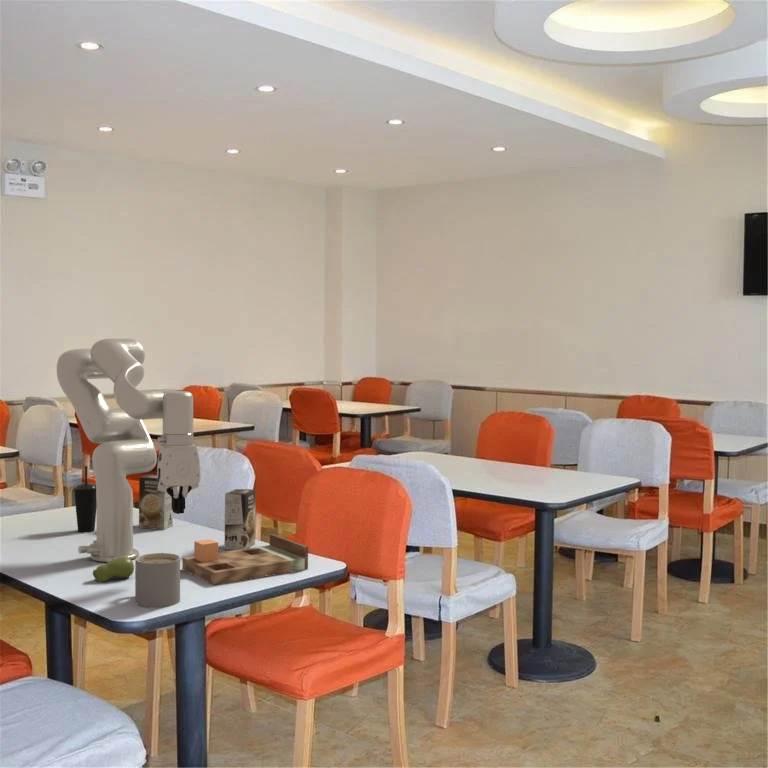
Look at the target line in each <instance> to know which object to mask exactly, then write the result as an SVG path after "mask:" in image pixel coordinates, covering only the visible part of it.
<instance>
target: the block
mask: <svg viewBox="0 0 768 768" xmlns="http://www.w3.org/2000/svg"><path fill="white" fill-rule="evenodd" d="M193 544H194V545H193V546H194V548H193V549H194V551H193V552H194V553H193V556H194V559H197V560H199V561H201V562H206V561H213V560H218V553H219V542H218V541H216V540H213V539H210V538H209V539H202V540H201V539H200V540H196V541H194V542H193Z"/></svg>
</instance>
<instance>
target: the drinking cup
mask: <svg viewBox="0 0 768 768" xmlns="http://www.w3.org/2000/svg"><path fill="white" fill-rule="evenodd" d="M72 490H73V493H74V494H73V495H74V503H75V504H74V505H75V512H76V513H75V514H76V515H75V516H76V524H77V526H76V527H77V532H78V533H83V534H84V532H87V533H93V532H95V531H94V530H95V529H96V521H97V501H96V483H92V482H88V466H87V465H84V482H82V483H78V484H77V485H75V486H74V485H73V487H72Z"/></svg>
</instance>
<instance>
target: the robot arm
mask: <svg viewBox="0 0 768 768" xmlns="http://www.w3.org/2000/svg"><path fill="white" fill-rule="evenodd" d="M145 354H146V353H145V350H144V347H143V345H142V344H141V342H139V341H138V340H136V339H133V338H104V339H100V340H97V341H95V343H94V344H93V345H92V346H91V348H77V349H76V348H75V349H70V350H67V351H64V352H63V353H62V354H61V355H60V356H59V357H58V359H57V361H56V375H57V376H56V377H57V380H58V384H59V386H60V388H61V390H62V392H63V393H64V395H65V397H66V398H67V399H68V400H69V402H70V403H71V405H72V407H73V409H74V411H75V414H76V416H77V418H78V419H79V420H78V421H79V422H80V425H81V427H82V429H83V432H84V433H85V435H86V437H87V439H88V440H89V441H90V442H92V443H94V444H99V445H97V447H96V448H95V449H94V450H93V452H92V468H93V472H94V478H95V485H96V501H97V508H96V540H92V543H90V544H89V545H80V546H78V548H77V550H78V553H79V554H87V555H89V554H90V558H91V560H93V561H95V562H103V563H104V562H105V563H108V562H109V561H111V560H113V559H116V558H120V557H127V558H129V559H131V560H134V559H136V558H137V557H139V556H140V555H139V554H140V551H139V550H138V549H136V548H134V494H133V493H134V492H133V489H132V486H131V485H130V483H129V481H128V480H127V478H126V476H129V475H137V474H143V473H148V472H151V471H152V470H153V469H154V468H155V467H156V464H157V467H156V471H157V472H156V475H157V482H158V488H157V490H158V491H162V492H167V493H168V494H169V495H170V497H172V510H173V514H177V515H180V514H184V513H185V509H186V498H187V497H188V494H189V493H190V492H191V491H192V490H195V489H197V488H199V486H200V485H199V484H200V482H201V465H200V464H201V463H200V456H199V450H198V447H197V445H196V444H194V395H193V393H191V392H190V391H184V390H175V389H172V388H171V389H170V388H161V389H159V388H158V389H156V388H155V389H137V386H139V385H140V383H141V382H142V381H143V380H144V379H143V378H144V376H145V367H144V366H143V364H144V361H145V358H146V357H145V356H146V355H145ZM98 379H99V380H102V379H106V380H107V379H109V380H110V381H111V382H112V383H113V396H114V400H115V403H116V404H117V406H119V407H111V406H110V405H109V404H108V402H107V401H106V399H105V396H104V394H103V393H102V392H101V391H100V389H98V388H97V386H95V385H94V384H92V383H91V382H90V381H88V380H98ZM155 419H157V420H158V419H160V420H161V419H162V434H161V436H158V437H157V442H158V443H161V444H162V445H160V448H159V451H158V454H157V450H156V447H155V444H154V443H153V439H152V438H151V435H150V434H149V432H148V429H147V427H146V426H145V423H144V421H145V420H155ZM143 420H144V421H143ZM157 455H158V456H157ZM165 486H166V487H165Z"/></svg>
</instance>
